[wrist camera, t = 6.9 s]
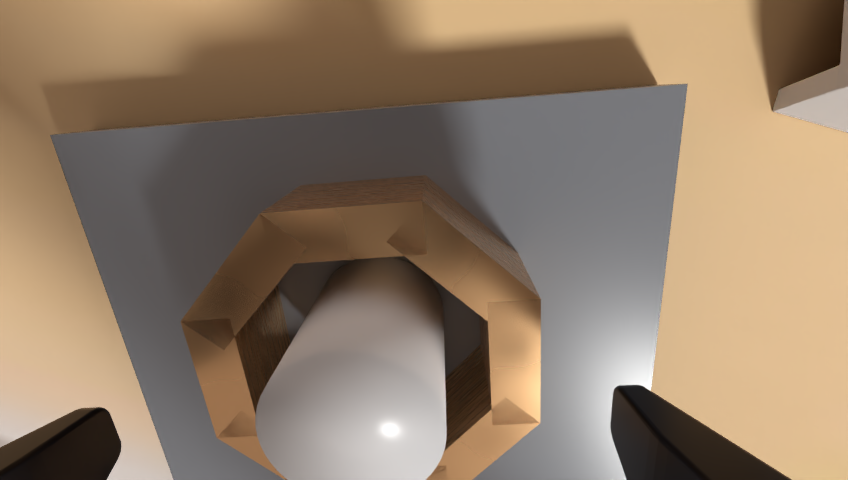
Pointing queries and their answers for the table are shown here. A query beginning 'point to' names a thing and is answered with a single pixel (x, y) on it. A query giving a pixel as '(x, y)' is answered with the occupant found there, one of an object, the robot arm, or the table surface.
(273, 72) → the table surface
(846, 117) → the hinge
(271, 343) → the ring
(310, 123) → the base
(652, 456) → the robot arm
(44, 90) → the table surface
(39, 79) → the table surface
